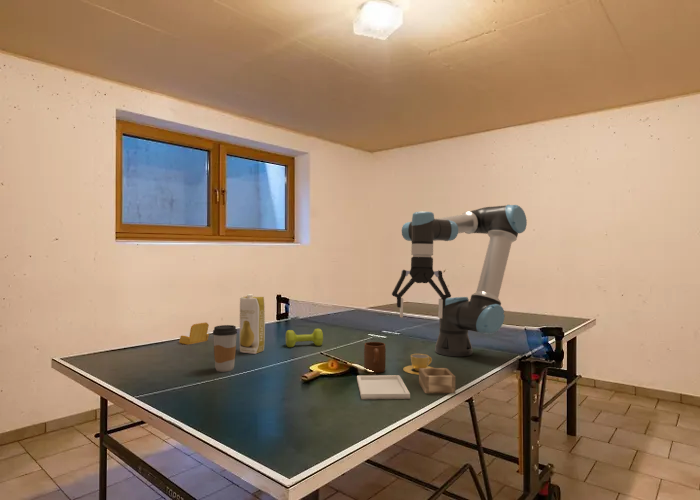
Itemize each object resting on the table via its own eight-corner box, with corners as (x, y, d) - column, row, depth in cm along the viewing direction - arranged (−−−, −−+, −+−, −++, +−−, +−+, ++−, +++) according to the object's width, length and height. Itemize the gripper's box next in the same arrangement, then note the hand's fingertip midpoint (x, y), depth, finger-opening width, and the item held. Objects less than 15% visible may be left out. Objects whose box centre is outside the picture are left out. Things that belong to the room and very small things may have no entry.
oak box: (446, 383, 137) (446, 368, 137) (455, 393, 128) (455, 376, 128) (418, 383, 136) (419, 368, 136) (425, 393, 127) (425, 376, 127)
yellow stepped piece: (198, 339, 203) (198, 319, 203) (210, 341, 197) (210, 321, 197) (178, 342, 194) (178, 322, 194) (190, 345, 189) (190, 324, 189)
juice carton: (236, 352, 176) (237, 294, 176) (248, 348, 183) (248, 292, 183) (256, 355, 172) (256, 295, 172) (266, 350, 179) (267, 293, 180)
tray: (399, 379, 140) (399, 375, 140) (410, 398, 122) (410, 393, 122) (357, 380, 140) (357, 375, 140) (361, 399, 122) (361, 394, 122)
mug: (388, 377, 143) (388, 349, 143) (365, 377, 143) (365, 349, 143) (384, 367, 155) (384, 341, 155) (363, 367, 155) (363, 341, 155)
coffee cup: (241, 367, 154) (241, 325, 154) (227, 373, 146) (228, 329, 146) (221, 365, 157) (222, 324, 157) (207, 371, 149) (207, 328, 149)
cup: (416, 377, 144) (416, 361, 144) (396, 368, 155) (396, 353, 155) (444, 373, 149) (444, 357, 149) (423, 365, 160) (423, 350, 160)
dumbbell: (320, 343, 196) (320, 327, 196) (324, 347, 188) (324, 330, 188) (284, 345, 191) (284, 328, 191) (286, 349, 184) (286, 332, 184)
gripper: (454, 257, 153) (453, 316, 152) (385, 255, 152) (383, 315, 152) (460, 257, 145) (459, 319, 145) (387, 255, 145) (386, 318, 144)
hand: (420, 317), depth 148 cm, fingers open, 13 cm apart
